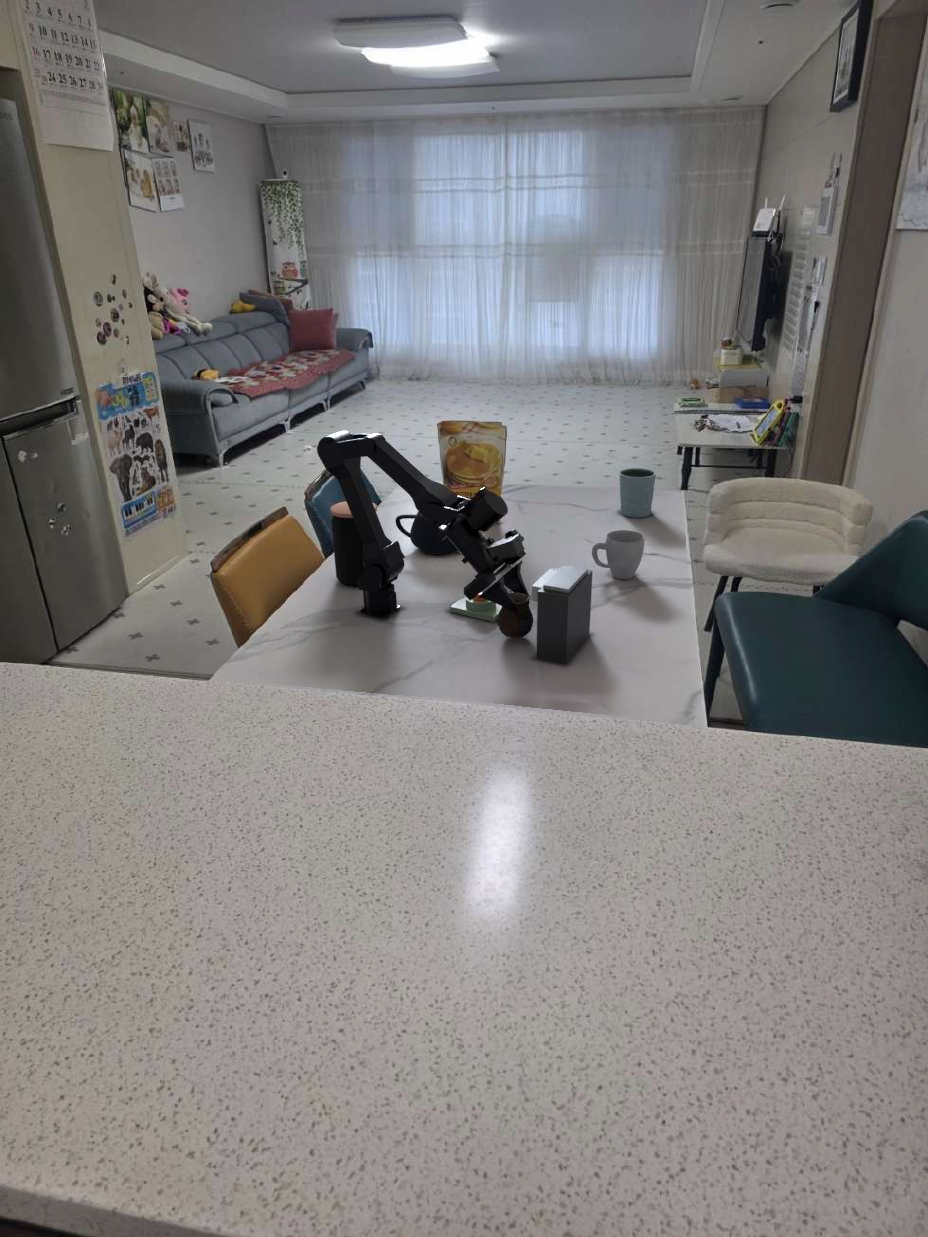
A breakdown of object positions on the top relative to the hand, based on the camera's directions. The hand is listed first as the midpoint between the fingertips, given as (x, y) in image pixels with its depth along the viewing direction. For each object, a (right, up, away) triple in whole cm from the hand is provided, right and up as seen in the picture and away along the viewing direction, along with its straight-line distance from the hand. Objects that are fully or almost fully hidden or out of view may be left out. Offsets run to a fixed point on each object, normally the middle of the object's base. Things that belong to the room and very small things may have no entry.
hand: (522, 605), depth 163 cm
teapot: (-17, +16, +52) cm, 57 cm away
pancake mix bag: (-9, +25, +72) cm, 77 cm away
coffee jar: (-36, +6, +33) cm, 50 cm away
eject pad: (-8, -1, +16) cm, 18 cm away
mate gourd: (-1, -6, +3) cm, 7 cm away
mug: (+25, +8, +33) cm, 42 cm away
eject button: (-8, +2, +15) cm, 17 cm away
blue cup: (+38, +28, +75) cm, 89 cm away
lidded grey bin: (+7, -8, 0) cm, 11 cm away
